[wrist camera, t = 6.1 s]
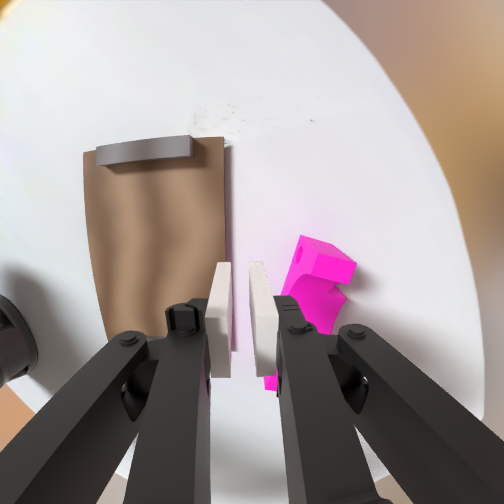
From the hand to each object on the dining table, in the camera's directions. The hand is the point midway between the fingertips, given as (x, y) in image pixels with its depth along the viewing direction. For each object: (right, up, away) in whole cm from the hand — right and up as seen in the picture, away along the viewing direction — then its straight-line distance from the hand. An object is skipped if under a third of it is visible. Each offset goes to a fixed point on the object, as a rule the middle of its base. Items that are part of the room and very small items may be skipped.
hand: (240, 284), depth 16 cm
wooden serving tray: (-10, +2, +13) cm, 17 cm away
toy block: (+7, -4, +16) cm, 18 cm away
